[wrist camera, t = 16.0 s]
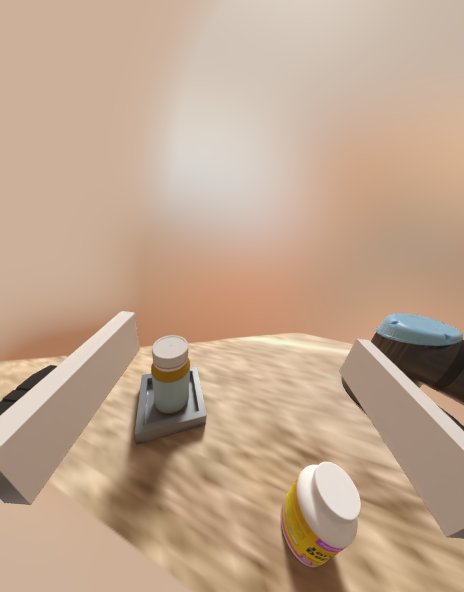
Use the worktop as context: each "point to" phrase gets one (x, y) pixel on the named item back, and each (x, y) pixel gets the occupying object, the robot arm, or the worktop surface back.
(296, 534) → the supplement bottle
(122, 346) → the robot arm
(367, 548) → the worktop surface
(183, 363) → the bottle
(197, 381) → the tray
